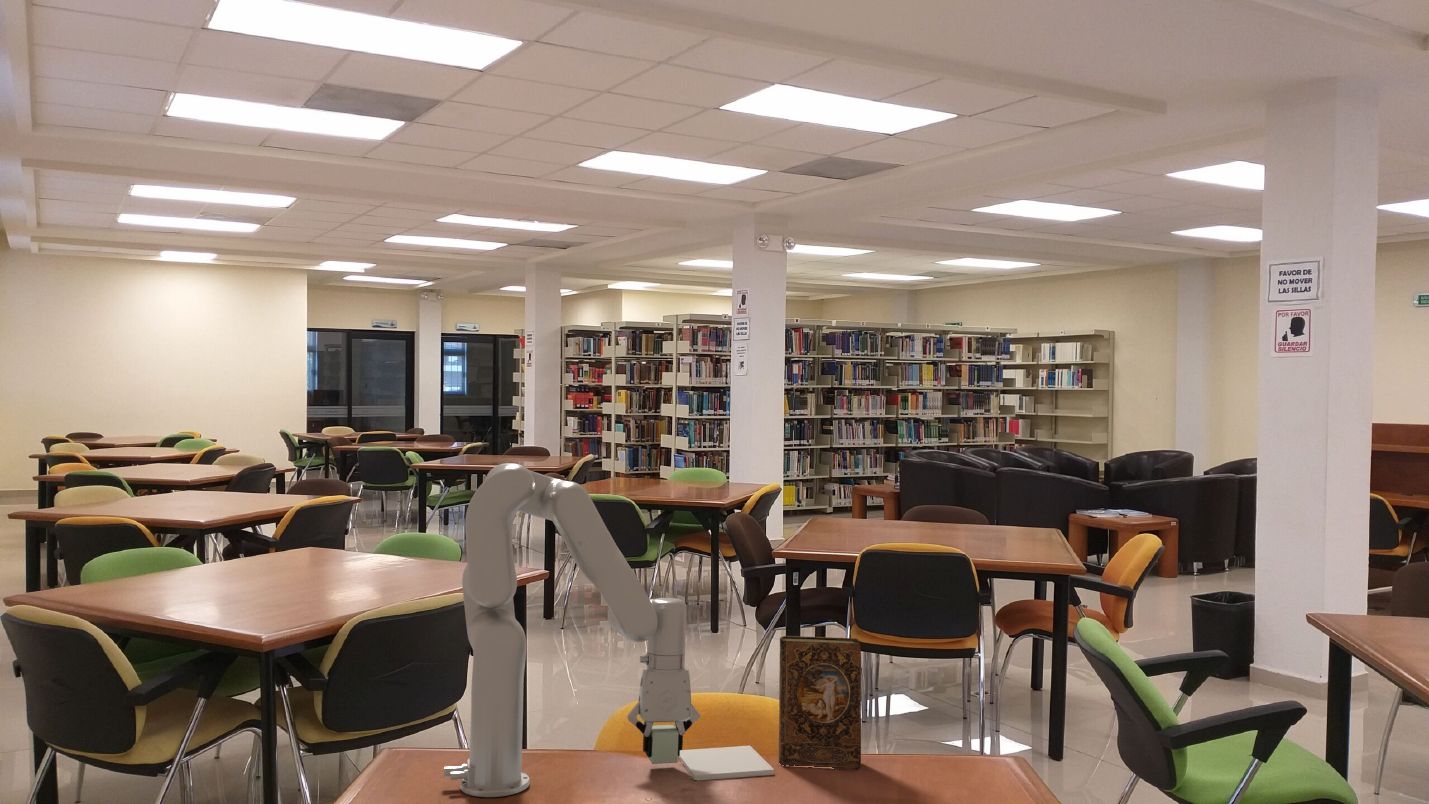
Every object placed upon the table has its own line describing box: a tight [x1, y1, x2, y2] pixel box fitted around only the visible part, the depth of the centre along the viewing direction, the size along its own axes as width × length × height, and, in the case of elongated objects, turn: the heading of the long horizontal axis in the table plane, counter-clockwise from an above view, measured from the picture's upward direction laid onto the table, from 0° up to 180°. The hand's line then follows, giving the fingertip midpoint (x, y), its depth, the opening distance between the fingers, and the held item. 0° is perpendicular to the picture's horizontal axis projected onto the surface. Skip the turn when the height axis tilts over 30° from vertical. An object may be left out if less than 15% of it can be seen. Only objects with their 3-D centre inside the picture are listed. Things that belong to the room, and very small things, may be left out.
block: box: [647, 724, 679, 765], centre depth 192 cm, size 5×5×6 cm
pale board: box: [679, 745, 775, 781], centre depth 195 cm, size 16×16×1 cm
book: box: [778, 635, 862, 771], centre depth 196 cm, size 16×6×25 cm, turn 84°
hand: (662, 753), depth 191 cm, fingers closed on block, 5 cm apart
